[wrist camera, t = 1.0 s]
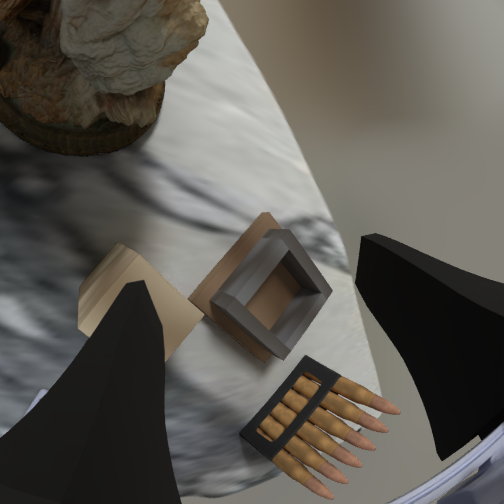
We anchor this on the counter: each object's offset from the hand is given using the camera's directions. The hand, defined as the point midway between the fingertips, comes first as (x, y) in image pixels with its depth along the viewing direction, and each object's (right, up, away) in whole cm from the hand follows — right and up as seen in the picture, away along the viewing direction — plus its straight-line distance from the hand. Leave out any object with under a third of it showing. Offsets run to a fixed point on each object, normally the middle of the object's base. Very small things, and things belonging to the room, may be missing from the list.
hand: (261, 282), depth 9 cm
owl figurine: (-14, +14, +4) cm, 20 cm away
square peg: (-9, -1, +9) cm, 13 cm away
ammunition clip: (+2, -14, +18) cm, 22 cm away
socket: (0, -2, +15) cm, 15 cm away
